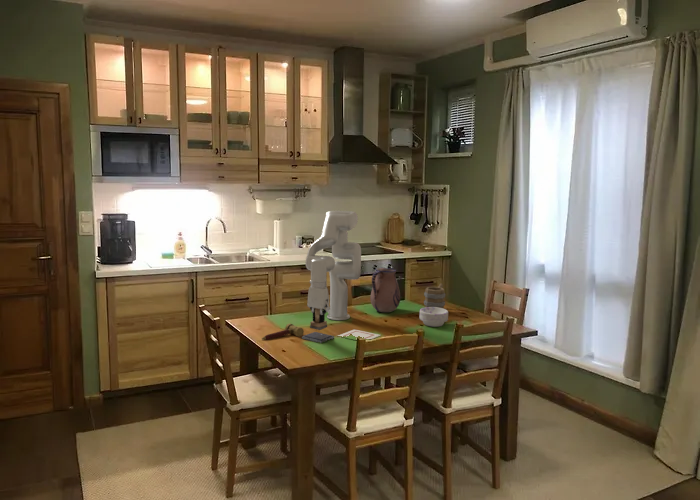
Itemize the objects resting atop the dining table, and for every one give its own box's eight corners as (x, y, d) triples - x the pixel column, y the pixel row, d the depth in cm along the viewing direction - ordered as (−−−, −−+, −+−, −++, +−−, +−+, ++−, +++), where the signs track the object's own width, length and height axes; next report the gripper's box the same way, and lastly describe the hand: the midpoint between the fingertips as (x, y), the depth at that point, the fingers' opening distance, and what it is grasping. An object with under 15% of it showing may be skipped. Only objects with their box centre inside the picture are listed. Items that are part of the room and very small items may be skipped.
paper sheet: (336, 336, 279) (336, 335, 279) (354, 329, 291) (354, 329, 291) (363, 342, 270) (363, 341, 270) (380, 335, 282) (380, 334, 282)
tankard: (440, 315, 323) (441, 289, 321) (419, 312, 329) (420, 287, 327) (452, 308, 340) (453, 284, 338) (432, 305, 347) (433, 281, 344)
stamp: (309, 327, 274) (309, 307, 272) (317, 324, 279) (317, 305, 277) (319, 330, 271) (319, 309, 269) (327, 327, 275) (327, 307, 274)
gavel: (266, 336, 266) (256, 332, 274) (267, 346, 267) (256, 341, 275) (303, 326, 279) (292, 322, 287) (304, 335, 280) (293, 331, 288)
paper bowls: (440, 330, 294) (441, 315, 292) (414, 325, 302) (414, 310, 301) (452, 323, 306) (452, 309, 305) (426, 319, 314) (426, 305, 313)
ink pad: (301, 338, 274) (301, 335, 274) (314, 334, 282) (315, 331, 282) (321, 343, 267) (321, 340, 267) (334, 338, 275) (334, 335, 275)
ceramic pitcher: (404, 309, 335) (406, 268, 331) (388, 317, 317) (390, 273, 313) (378, 305, 344) (379, 265, 340) (361, 313, 326) (362, 270, 322)
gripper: (300, 283, 273) (300, 320, 276) (327, 288, 263) (327, 326, 267) (310, 280, 279) (310, 316, 282) (337, 285, 270) (336, 322, 273)
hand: (318, 321), depth 274 cm, fingers closed on stamp, 3 cm apart
